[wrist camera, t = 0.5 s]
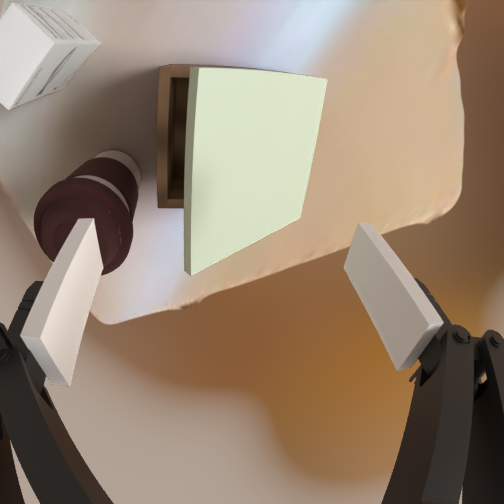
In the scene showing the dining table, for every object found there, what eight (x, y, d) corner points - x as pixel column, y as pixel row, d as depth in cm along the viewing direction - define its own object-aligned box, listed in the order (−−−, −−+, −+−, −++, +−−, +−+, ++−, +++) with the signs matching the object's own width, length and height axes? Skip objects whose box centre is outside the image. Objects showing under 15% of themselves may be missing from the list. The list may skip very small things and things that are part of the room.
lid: (190, 67, 15) (199, 67, 15) (319, 77, 24) (327, 79, 24) (184, 270, 23) (190, 276, 23) (294, 215, 33) (300, 218, 32)
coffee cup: (71, 197, 36) (24, 269, 24) (89, 128, 31) (30, 177, 19) (138, 220, 39) (115, 300, 27) (162, 153, 35) (141, 215, 23)
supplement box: (63, 91, 27) (6, 114, 17) (28, 57, 23) (-35, 70, 13) (104, 43, 25) (56, 43, 15) (67, 9, 21) (9, 0, 11)
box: (169, 64, 28) (159, 66, 22) (294, 73, 31) (317, 80, 25) (165, 177, 37) (157, 208, 30) (277, 181, 39) (293, 211, 33)
